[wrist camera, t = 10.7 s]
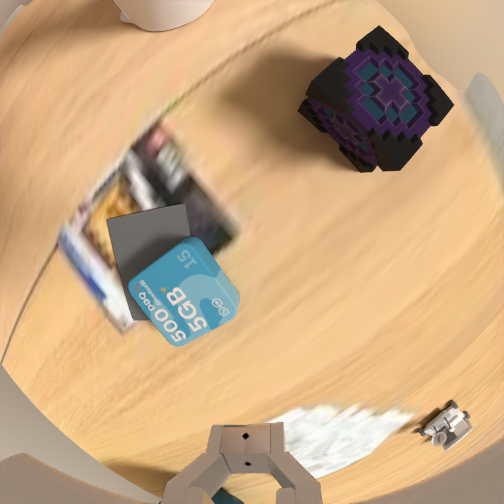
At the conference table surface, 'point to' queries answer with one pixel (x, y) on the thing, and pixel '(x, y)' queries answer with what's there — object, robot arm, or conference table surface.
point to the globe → (224, 498)
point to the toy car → (448, 427)
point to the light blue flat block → (185, 293)
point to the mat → (145, 242)
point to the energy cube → (375, 103)
